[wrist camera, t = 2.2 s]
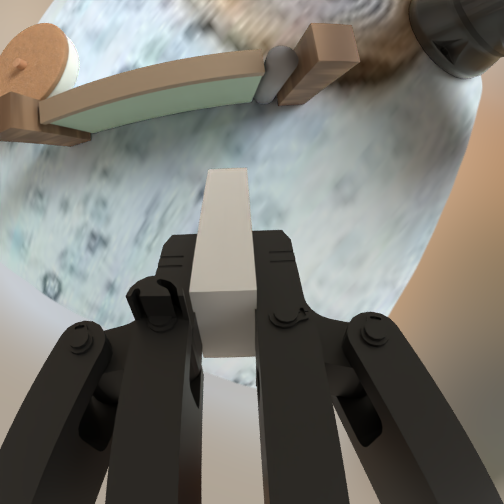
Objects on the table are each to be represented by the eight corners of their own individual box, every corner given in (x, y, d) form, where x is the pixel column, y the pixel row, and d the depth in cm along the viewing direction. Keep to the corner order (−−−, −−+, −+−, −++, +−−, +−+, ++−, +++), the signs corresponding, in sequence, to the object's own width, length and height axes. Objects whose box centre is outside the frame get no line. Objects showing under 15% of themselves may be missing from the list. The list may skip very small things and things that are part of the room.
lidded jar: (35, 136, 30) (-9, 131, 21) (18, 73, 28) (-22, 58, 19) (102, 91, 30) (68, 70, 21) (81, 28, 27) (49, 0, 18)
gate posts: (300, 80, 32) (351, 25, 17) (304, 104, 33) (360, 61, 17) (68, 123, 31) (-16, 105, 15) (70, 146, 31) (-15, 140, 16)
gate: (272, 83, 32) (295, 45, 20) (275, 103, 32) (300, 72, 21) (91, 117, 31) (39, 99, 19) (93, 136, 31) (40, 125, 20)
